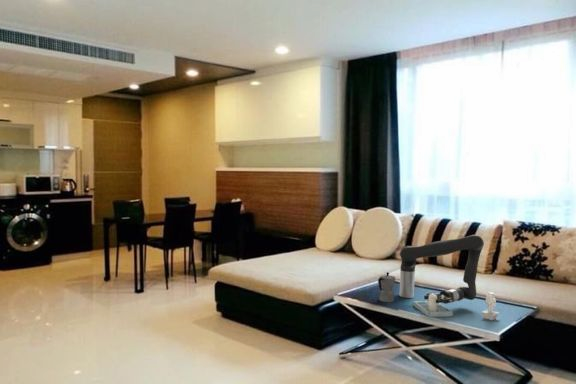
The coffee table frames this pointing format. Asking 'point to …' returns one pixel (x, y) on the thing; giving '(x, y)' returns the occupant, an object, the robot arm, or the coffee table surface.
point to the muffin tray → (440, 312)
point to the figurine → (490, 307)
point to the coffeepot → (386, 288)
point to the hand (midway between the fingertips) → (430, 299)
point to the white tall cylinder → (432, 303)
